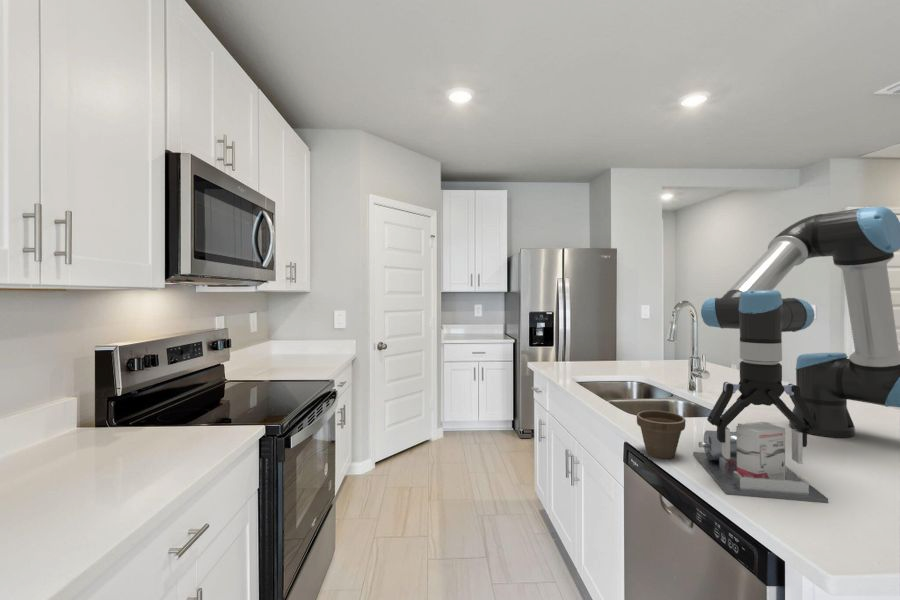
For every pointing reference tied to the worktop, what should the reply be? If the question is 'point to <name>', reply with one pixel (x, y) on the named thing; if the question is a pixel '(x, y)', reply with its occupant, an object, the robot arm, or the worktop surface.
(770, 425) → the ink box
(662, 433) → the flower pot
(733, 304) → the robot arm
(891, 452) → the worktop surface
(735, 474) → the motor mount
